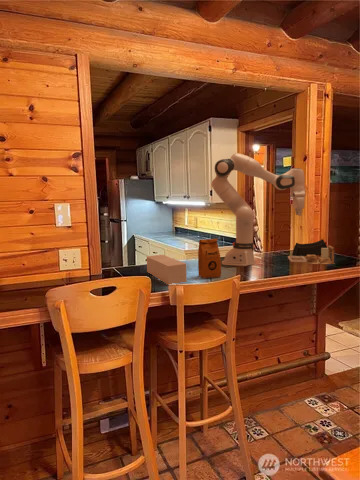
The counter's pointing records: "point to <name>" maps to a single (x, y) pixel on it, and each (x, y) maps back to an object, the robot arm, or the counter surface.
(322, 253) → the board
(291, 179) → the robot arm
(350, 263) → the counter surface
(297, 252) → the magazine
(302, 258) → the tray
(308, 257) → the oak offcut
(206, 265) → the coffee package
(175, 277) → the pinkish brown block
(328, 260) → the rack
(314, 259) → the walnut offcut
